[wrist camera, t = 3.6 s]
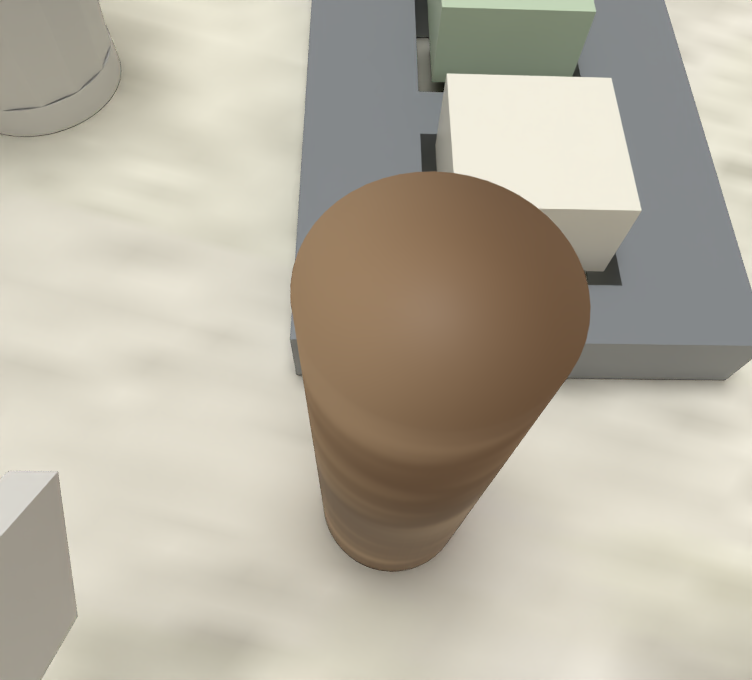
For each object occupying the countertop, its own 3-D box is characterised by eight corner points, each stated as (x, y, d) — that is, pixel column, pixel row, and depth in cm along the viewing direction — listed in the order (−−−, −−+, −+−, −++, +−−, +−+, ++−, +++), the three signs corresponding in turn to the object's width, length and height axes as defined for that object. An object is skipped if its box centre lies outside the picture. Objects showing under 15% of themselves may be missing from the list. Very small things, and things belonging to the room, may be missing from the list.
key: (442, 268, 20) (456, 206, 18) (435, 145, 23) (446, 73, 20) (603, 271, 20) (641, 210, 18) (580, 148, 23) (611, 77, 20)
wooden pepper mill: (321, 571, 19) (280, 429, 8) (325, 434, 20) (298, 168, 10) (463, 571, 19) (613, 432, 8) (455, 435, 20) (569, 174, 10)
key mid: (431, 81, 24) (441, 7, 21) (426, -9, 26) (435, -87, 23) (569, 85, 24) (596, 11, 21) (552, -5, 26) (574, -82, 24)
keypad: (296, 374, 21) (290, 339, 19) (324, -103, 33) (322, -159, 31) (725, 380, 22) (768, 346, 19) (601, -94, 33) (619, -148, 31)
